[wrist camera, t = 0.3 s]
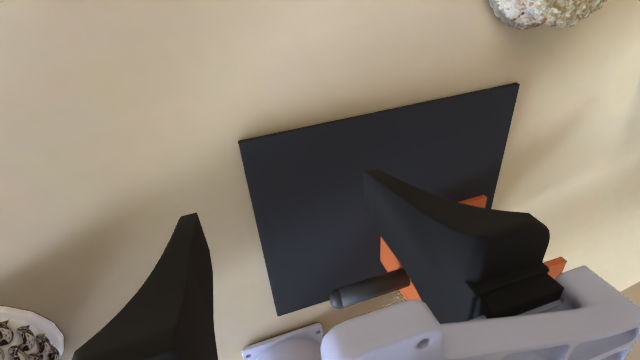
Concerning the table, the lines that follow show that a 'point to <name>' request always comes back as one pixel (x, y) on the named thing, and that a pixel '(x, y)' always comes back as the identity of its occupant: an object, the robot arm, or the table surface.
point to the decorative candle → (28, 336)
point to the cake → (543, 12)
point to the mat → (348, 183)
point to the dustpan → (403, 275)
